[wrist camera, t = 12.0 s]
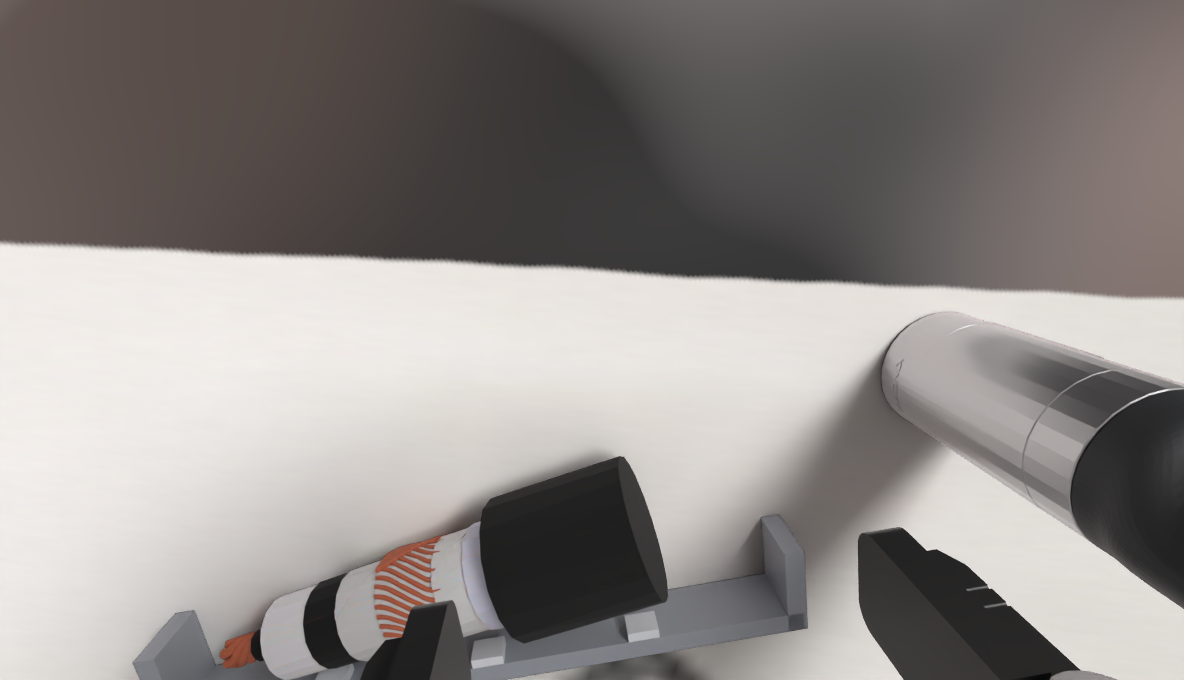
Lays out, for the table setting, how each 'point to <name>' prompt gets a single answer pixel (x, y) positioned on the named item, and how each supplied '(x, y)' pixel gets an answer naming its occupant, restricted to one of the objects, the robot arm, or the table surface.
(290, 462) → the table surface
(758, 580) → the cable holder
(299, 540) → the table surface
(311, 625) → the cable
